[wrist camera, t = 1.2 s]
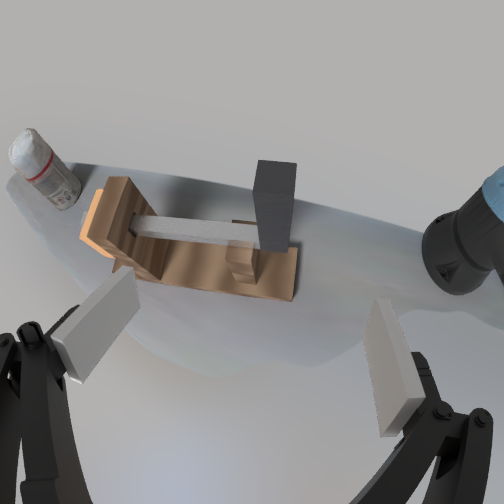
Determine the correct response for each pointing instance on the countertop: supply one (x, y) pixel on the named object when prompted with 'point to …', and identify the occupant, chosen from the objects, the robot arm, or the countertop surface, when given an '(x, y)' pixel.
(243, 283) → the rail base
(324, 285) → the countertop surface
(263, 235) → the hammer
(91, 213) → the collar
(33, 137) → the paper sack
